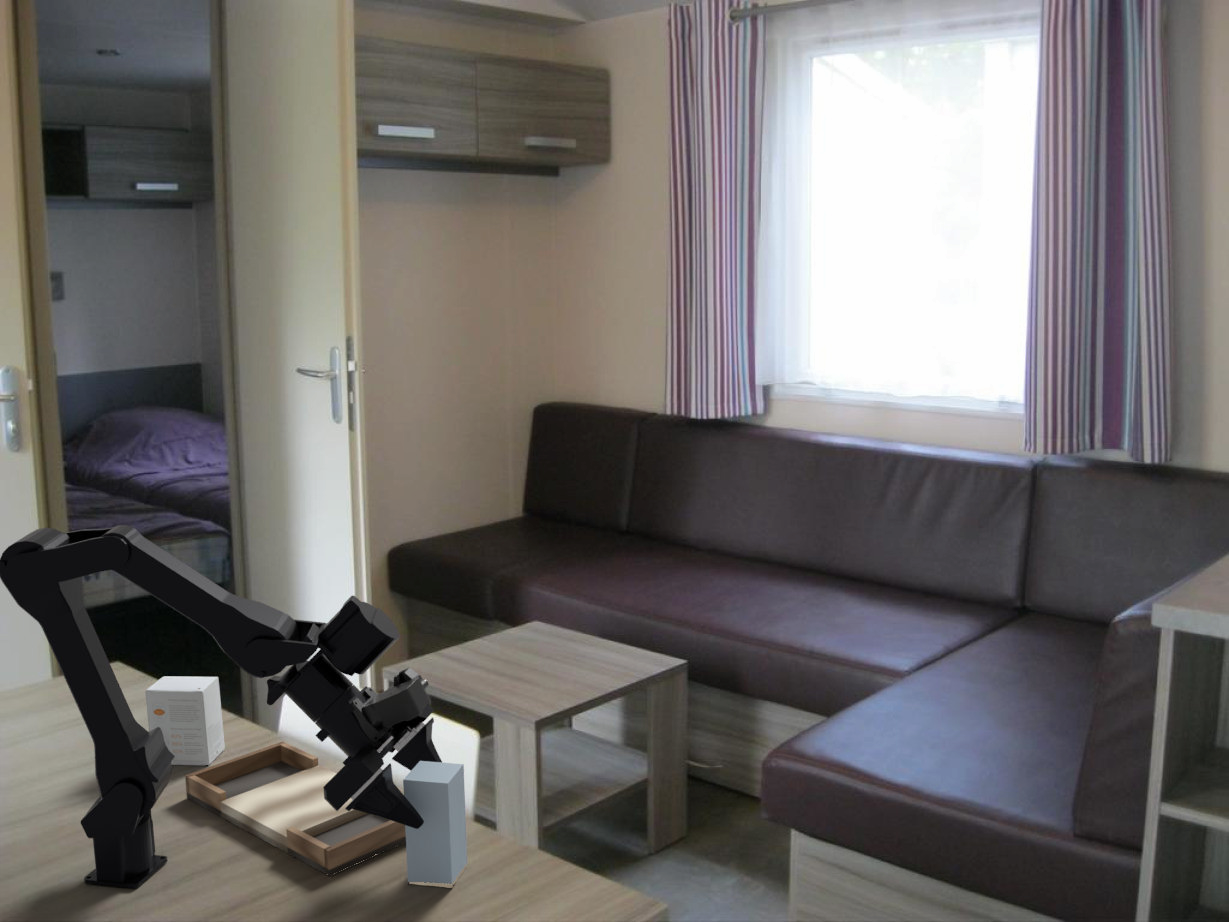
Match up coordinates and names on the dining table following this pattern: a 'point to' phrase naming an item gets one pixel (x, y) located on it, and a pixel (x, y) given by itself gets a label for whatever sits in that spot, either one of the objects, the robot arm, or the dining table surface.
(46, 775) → the dining table surface
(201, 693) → the small box
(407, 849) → the block
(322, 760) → the dining table surface
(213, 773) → the box
